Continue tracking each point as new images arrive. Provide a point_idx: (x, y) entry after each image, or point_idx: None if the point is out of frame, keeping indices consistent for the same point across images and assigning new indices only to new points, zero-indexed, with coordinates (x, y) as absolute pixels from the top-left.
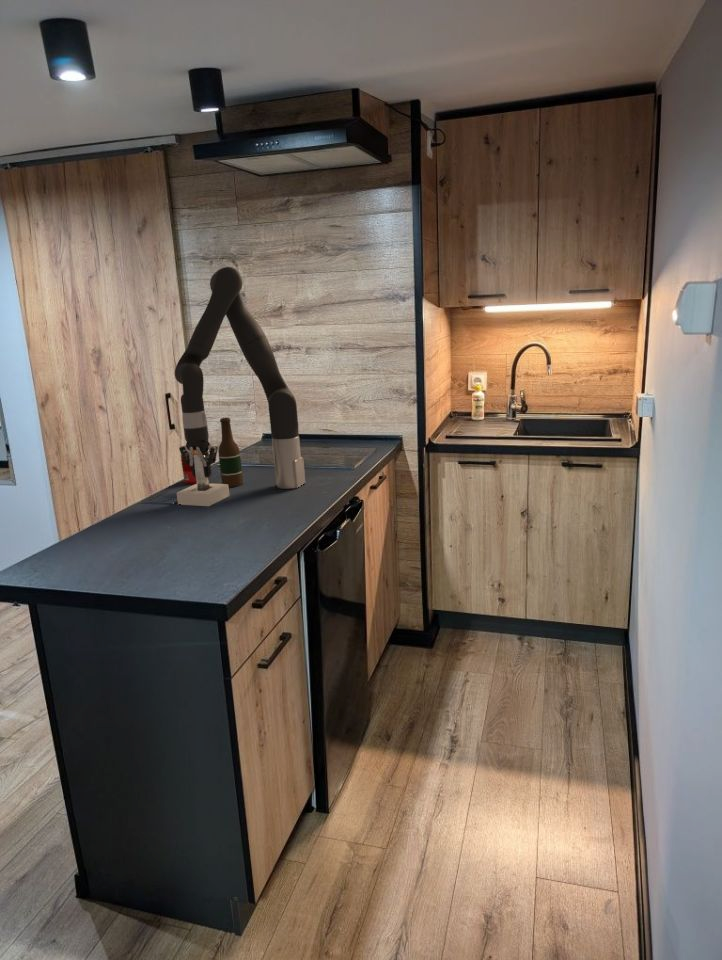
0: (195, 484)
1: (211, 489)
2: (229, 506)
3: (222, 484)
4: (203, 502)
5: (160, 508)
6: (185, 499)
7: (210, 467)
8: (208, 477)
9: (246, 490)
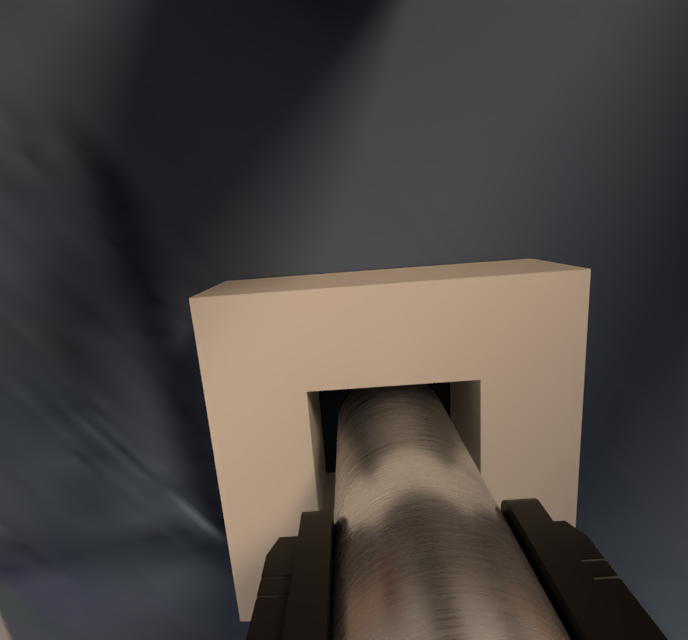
0: (207, 359)
1: (516, 475)
2: (680, 490)
3: (524, 289)
4: None
5: (207, 628)
6: None
7: (657, 632)
8: (483, 480)
9: (600, 51)
